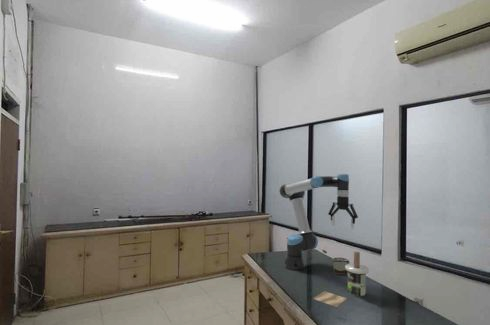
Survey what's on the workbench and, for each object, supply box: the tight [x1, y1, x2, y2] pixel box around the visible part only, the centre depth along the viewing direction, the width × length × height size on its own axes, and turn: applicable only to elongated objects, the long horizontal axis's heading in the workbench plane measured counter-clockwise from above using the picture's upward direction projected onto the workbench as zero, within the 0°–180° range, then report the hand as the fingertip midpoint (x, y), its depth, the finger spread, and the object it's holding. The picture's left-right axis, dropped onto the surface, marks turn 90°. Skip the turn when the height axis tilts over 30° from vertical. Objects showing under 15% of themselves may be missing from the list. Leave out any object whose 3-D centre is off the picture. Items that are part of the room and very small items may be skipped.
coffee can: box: [347, 271, 367, 297], centre depth 169 cm, size 10×10×14 cm
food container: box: [331, 257, 351, 275], centre depth 204 cm, size 12×6×10 cm, turn 84°
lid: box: [345, 251, 369, 275], centre depth 170 cm, size 13×13×10 cm
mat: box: [312, 290, 348, 308], centre depth 160 cm, size 14×14×1 cm
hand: (342, 226), depth 195 cm, fingers open, 13 cm apart
